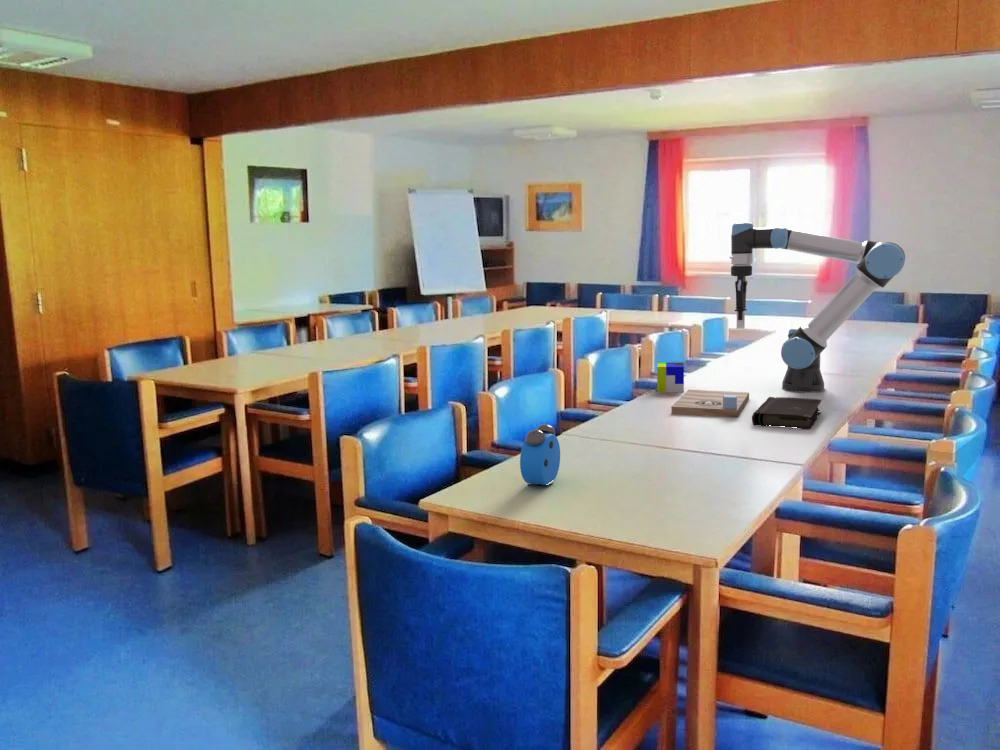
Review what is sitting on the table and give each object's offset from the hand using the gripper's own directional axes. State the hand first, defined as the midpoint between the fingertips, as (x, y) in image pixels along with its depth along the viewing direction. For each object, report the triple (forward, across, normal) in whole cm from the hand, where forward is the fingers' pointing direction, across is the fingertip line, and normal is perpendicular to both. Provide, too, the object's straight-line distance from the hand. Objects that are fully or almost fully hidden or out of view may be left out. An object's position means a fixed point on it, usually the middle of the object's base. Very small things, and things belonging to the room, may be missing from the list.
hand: (740, 328), depth 307 cm
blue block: (+22, +39, +2) cm, 45 cm away
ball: (+23, +34, -6) cm, 42 cm away
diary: (+25, +40, +21) cm, 51 cm away
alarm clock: (+25, +128, -32) cm, 134 cm away
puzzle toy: (+25, +1, -26) cm, 36 cm away
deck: (+24, +26, -6) cm, 36 cm away
